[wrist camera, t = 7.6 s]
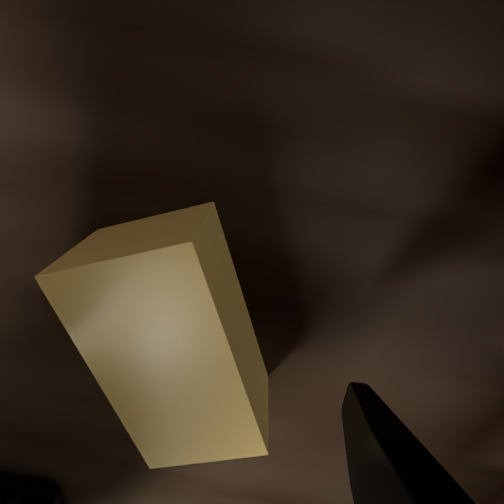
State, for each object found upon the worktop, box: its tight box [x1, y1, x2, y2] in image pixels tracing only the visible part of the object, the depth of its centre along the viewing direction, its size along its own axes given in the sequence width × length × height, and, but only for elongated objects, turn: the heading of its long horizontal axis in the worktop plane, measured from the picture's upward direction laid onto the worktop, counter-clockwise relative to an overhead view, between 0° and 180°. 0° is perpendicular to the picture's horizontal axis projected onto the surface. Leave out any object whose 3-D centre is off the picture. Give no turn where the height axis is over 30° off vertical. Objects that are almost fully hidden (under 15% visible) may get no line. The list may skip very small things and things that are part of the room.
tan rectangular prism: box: [34, 202, 268, 469], centre depth 9 cm, size 6×4×3 cm, turn 14°
